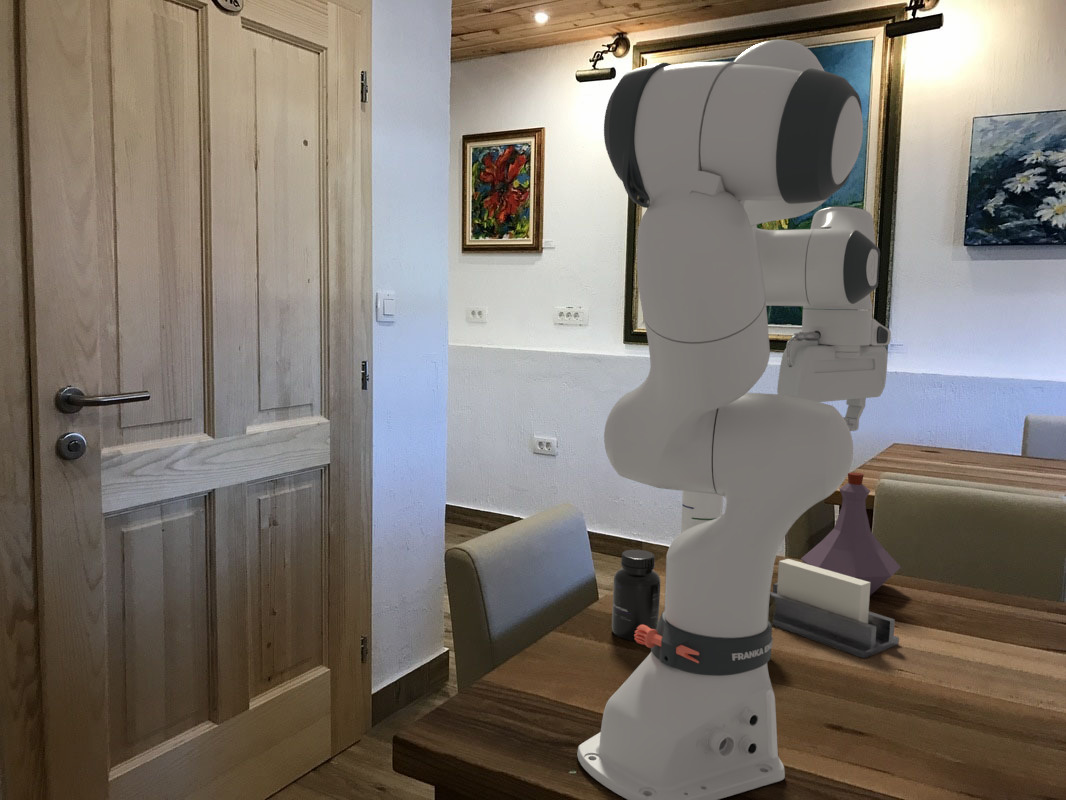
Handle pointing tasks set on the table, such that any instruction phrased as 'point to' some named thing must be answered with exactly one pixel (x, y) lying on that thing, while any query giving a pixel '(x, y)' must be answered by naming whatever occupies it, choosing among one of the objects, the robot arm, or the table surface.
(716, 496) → the cylindrical container
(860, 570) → the flask
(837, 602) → the door panel
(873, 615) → the floor track
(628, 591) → the supplement bottle
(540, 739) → the table surface
